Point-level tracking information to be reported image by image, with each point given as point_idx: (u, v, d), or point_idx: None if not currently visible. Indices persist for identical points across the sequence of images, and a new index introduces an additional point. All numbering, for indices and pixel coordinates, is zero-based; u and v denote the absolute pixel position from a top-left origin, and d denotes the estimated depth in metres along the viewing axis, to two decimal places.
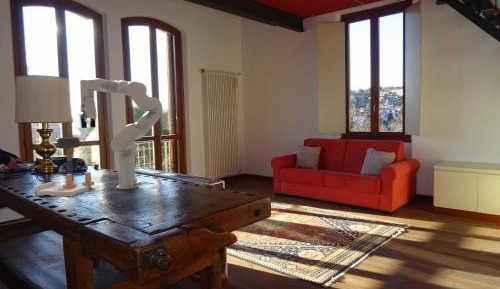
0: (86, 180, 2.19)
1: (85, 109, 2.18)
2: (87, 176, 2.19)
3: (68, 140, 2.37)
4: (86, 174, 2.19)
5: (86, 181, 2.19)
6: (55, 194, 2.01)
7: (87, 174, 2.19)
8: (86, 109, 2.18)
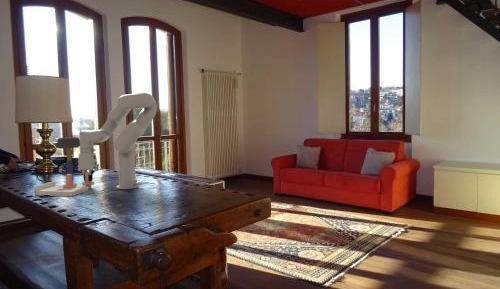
0: (86, 180, 2.19)
1: (96, 160, 2.20)
2: (87, 176, 2.19)
3: (68, 140, 2.37)
4: (86, 174, 2.19)
5: (86, 181, 2.19)
6: (55, 194, 2.01)
7: (87, 174, 2.19)
8: (96, 160, 2.21)
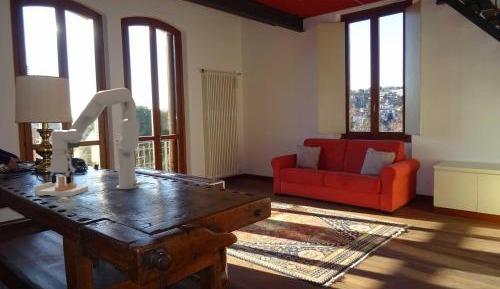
0: (59, 185, 2.04)
1: (70, 162, 2.05)
2: (60, 180, 2.04)
3: None
4: (59, 178, 2.04)
5: (59, 186, 2.04)
6: (55, 194, 2.01)
7: (60, 178, 2.04)
8: (70, 162, 2.06)
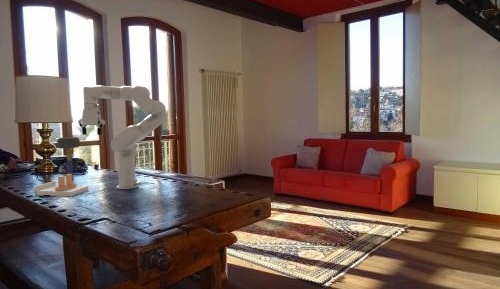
0: (59, 185, 2.04)
1: (100, 116, 2.24)
2: (60, 180, 2.04)
3: (68, 140, 2.37)
4: (59, 178, 2.04)
5: (59, 186, 2.04)
6: (55, 194, 2.01)
7: (60, 178, 2.04)
8: (100, 116, 2.25)
